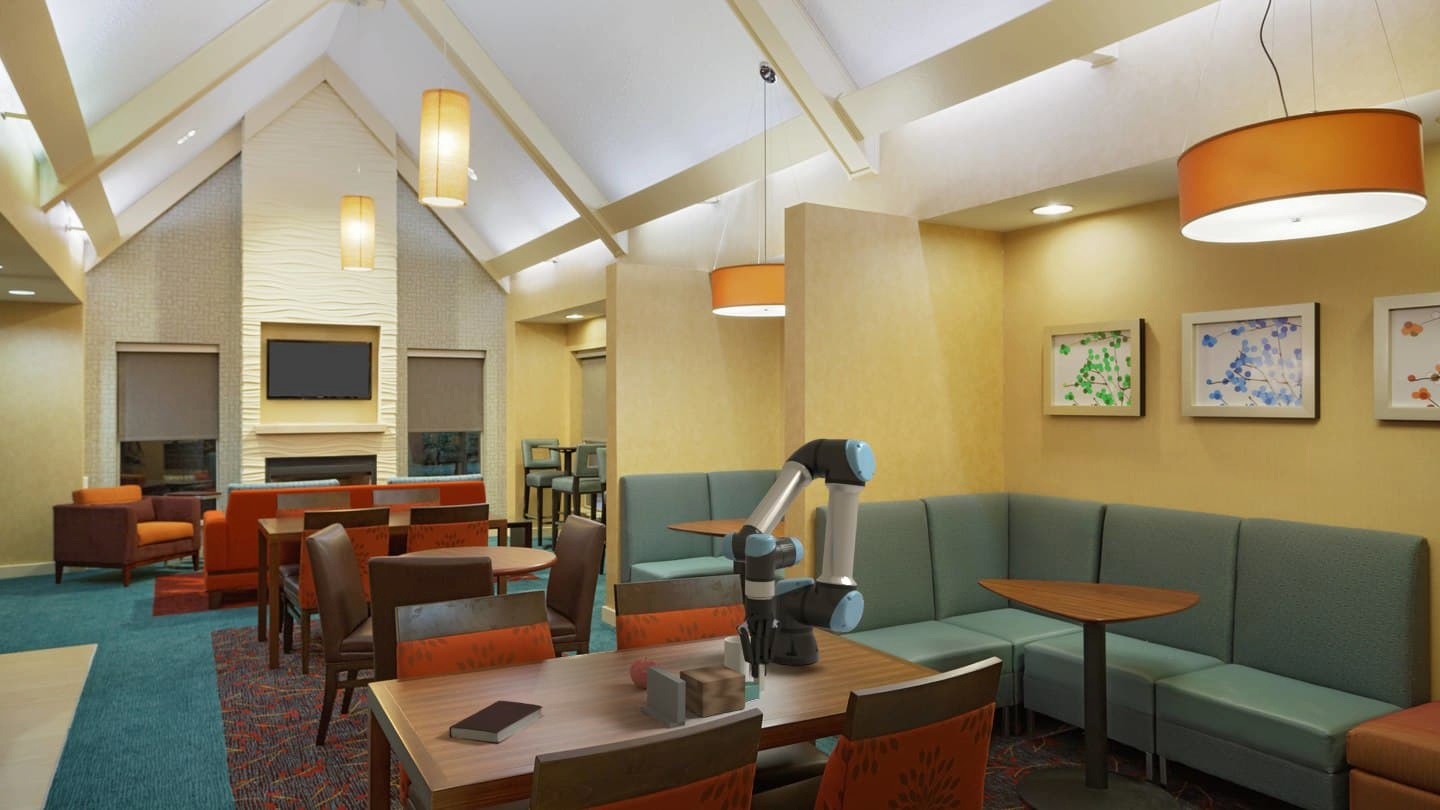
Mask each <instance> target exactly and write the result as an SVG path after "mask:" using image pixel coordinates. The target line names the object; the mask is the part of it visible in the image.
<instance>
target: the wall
mask: <svg viewBox="0 0 1440 810" xmlns="http://www.w3.org/2000/svg"><path fill="white" fill-rule="evenodd" d="M685 686H686V681H684V680H682V679H680V677H678V676H676V675H674V674H672V673H670V672H668V671H667V670H665V669H662V668H661V667H659V666H658V667H657V666H655V665H654V666H648V667H647V688H646V704H643V705H641V704H640V705H639V710H640V711H642V712H643V713H644V714H646V715H648V716H649V717H651V718H653V719H654V720H656V721H658V722H659V723H661V724H662V725H664V726H665V727H667V728H669V729H671V728H672V729H673V728H677V727H682V726H683V727H684V726H686V707H685Z"/></svg>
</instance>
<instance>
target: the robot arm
mask: <svg viewBox="0 0 1440 810" xmlns="http://www.w3.org/2000/svg"><path fill="white" fill-rule="evenodd" d="M781 471H782V472H781V473H780V475H779V476H778V477H777V479H776V481H775V482H774V483H773V484H772V485H771V486H770V488H769V490H768V491H767V492H766V494H765V495H764V497H763V498H762V499H761V500H760V502H759V504H758V505H757V506H756V508H755V509H754V510H753V512H752V513H751V514H750V515H749V517H748V518H747V520H746V521H745V522H744V524H743V525H742V527H741V528H740V529H739V531H737V532H728V533H727V534H725V536H724V537H723V538H722V541H721V553H722V555H723V556H724V558H726V560H730V561H734V562H737V563H744V564H745V566H744V567H745V578H744V579H745V581H744V582H745V584H744V594H745V598H744V611H745V616H744V619H743V620H744V621H743V623H742V624H741V625H737V626H736V627H735V628H736V631H737V633H738V635H739V636H740V640H741V645H742V650H743V655H744V660H745V662H747V663H749V665H750V667H751V669H750V670H751V677H752V678H753V682H754V683H756V684H758V685H760V692H765V677H766V676H767V673H768V672H767V671H768V669H767V668H768V665H770V664H771V662H773V663H777V664H782V665H788V666H803V665H805V666H806V665H809V664H810V665H811V664H814V663H817V662H818V661H819V660H820V649H819V646H818V643H817V640H816V636H815V633H814V627H815V628H819V629H825V630H830V631H832V632H842V633H848V632H851V631H852V630H854V629H856V627H857V625H858V624H859V623H860V621H861V618H862V616H863V612H864V608H865V601H864V597H863V595H862V593H861V592H860V591H858V584H857V582H856V581H855V580H854V578H853V573H854V572H853V570H854V562H855V559H854V558H855V550H856V549H855V547H856V537H857V536H856V535H857V525H858V512H859V501H860V493H861V492H863V490H865V489H866V482H870V481H871V480H872V479H873V477H874V475H875V472H876V460H875V454H874V453H873V450H872V448H871V446H870V445H869V444H868V443H867V442H866V441H864V440H860V439H859V440H858V439H850V438H849V439H848V438H847V439H843V438H841V439H840V438H834V439H833V438H816V439H813V440H811V441H808V442H806V443H805V444H803V445H802V446H800V447H799V448H798V449H796V450H795V451H794V452H793V453H791V454H790V456H789V457H788V458H787V459H786V460H785V462H784V463H783V465H782V468H781ZM817 479H824V485H825V487H826V489H828V501H827V513H826V525H825V535H824V548H823V558H822V559H823V560H822V571H821V575H819V577H817V578H816V580H814V578H812V577H793V578H785V579H781V580H778V581H777V582H776V580H775V579H776V571H777V570H781V569H786V568H791V567H794V566H797V565H799V564H800V563H801V562H802V560H803V559H804V553H805V551H804V546H803V544H802V542H801V541H800V540H799V539H797V538H796V537H787V536H785V537H783V538H778V537H775V536H774V535H772V533H773V532H774V530H775V529H776V528H777V526H778V524H779V523H780V521H782V519H783V518H784V516H785V514H786V513H787V511H789V509H790V507H791V506H792V505H793V503H794V502H795V500H796V499H797V497H798V496H799V494H800V493H801V492H802V490H803V489H804V488H807V487H809V486H810V485H811V484H812V482H813V481H814V480H817ZM748 632H749V633H748ZM770 661H771V662H770Z"/></svg>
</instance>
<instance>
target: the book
mask: <svg viewBox="0 0 1440 810" xmlns="http://www.w3.org/2000/svg"><path fill="white" fill-rule="evenodd" d="M542 708H543V706H542V705H538V704H532V703H526V702H519V701H509V700H497V701H495V702H494V703H492V704H490V705H488V706H486V707H485V708H482V709H480V710H479V711H477V712H475V713H474V714H472V715H471V714H470V716H468V717H465V718H464V719H462V720H460V721H458V722H457V723H455V724H454V723H453V725H451V726H450V727H449V728H448V730H449V737H450V738H456V739H458V738H459V739H461V740H468V741H472V742H480V743H485V744H486V743H487V744H495V745H499V744H501V743H503V742H504V741H506V740H507V739H509V738H511V737H512V736H513V735H515V734H517V733H518V732H520V731H521V730H523V729H524V728H526V727H527V726H529V725H530V724H532V723H533V722H535V721H537V720H539V719H541V718H542V717H544V715H543V714H542Z"/></svg>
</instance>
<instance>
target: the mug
mask: <svg viewBox="0 0 1440 810" xmlns="http://www.w3.org/2000/svg"><path fill="white" fill-rule="evenodd" d="M723 644H724V649H723V650H724V657H723V658H724V666H726V667H728V668H731V669H733V670H735V671H737V672H739V673H742V674H744V675H745V682H747V681H750V679H749V676H750V663H747V662H745V660H744V655H743V650H742V645H741V640H740V635H739V636H736V635H735V636H728V637H725V638H724V642H723Z"/></svg>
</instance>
